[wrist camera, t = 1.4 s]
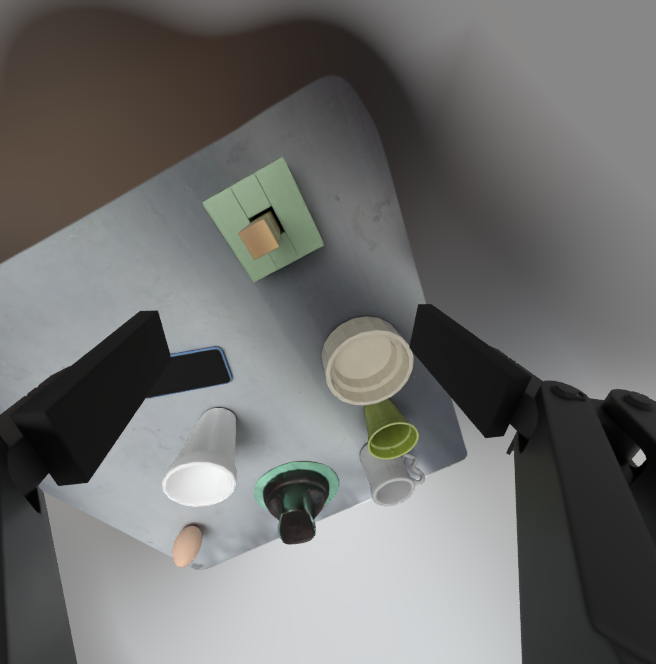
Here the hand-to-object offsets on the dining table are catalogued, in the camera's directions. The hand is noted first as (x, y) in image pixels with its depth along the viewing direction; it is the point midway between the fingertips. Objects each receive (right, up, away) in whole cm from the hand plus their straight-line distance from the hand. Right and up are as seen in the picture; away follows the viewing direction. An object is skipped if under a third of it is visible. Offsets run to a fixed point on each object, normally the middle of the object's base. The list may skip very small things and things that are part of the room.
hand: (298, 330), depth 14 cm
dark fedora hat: (-6, -38, +49) cm, 62 cm away
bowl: (+7, -4, +33) cm, 34 cm away
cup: (-19, -16, +36) cm, 43 cm away
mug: (+15, -27, +47) cm, 56 cm away
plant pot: (+12, -16, +41) cm, 45 cm away
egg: (-31, -47, +49) cm, 75 cm away
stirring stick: (-6, +15, +22) cm, 27 cm away
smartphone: (-23, -6, +30) cm, 38 cm away
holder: (-6, +15, +22) cm, 27 cm away
